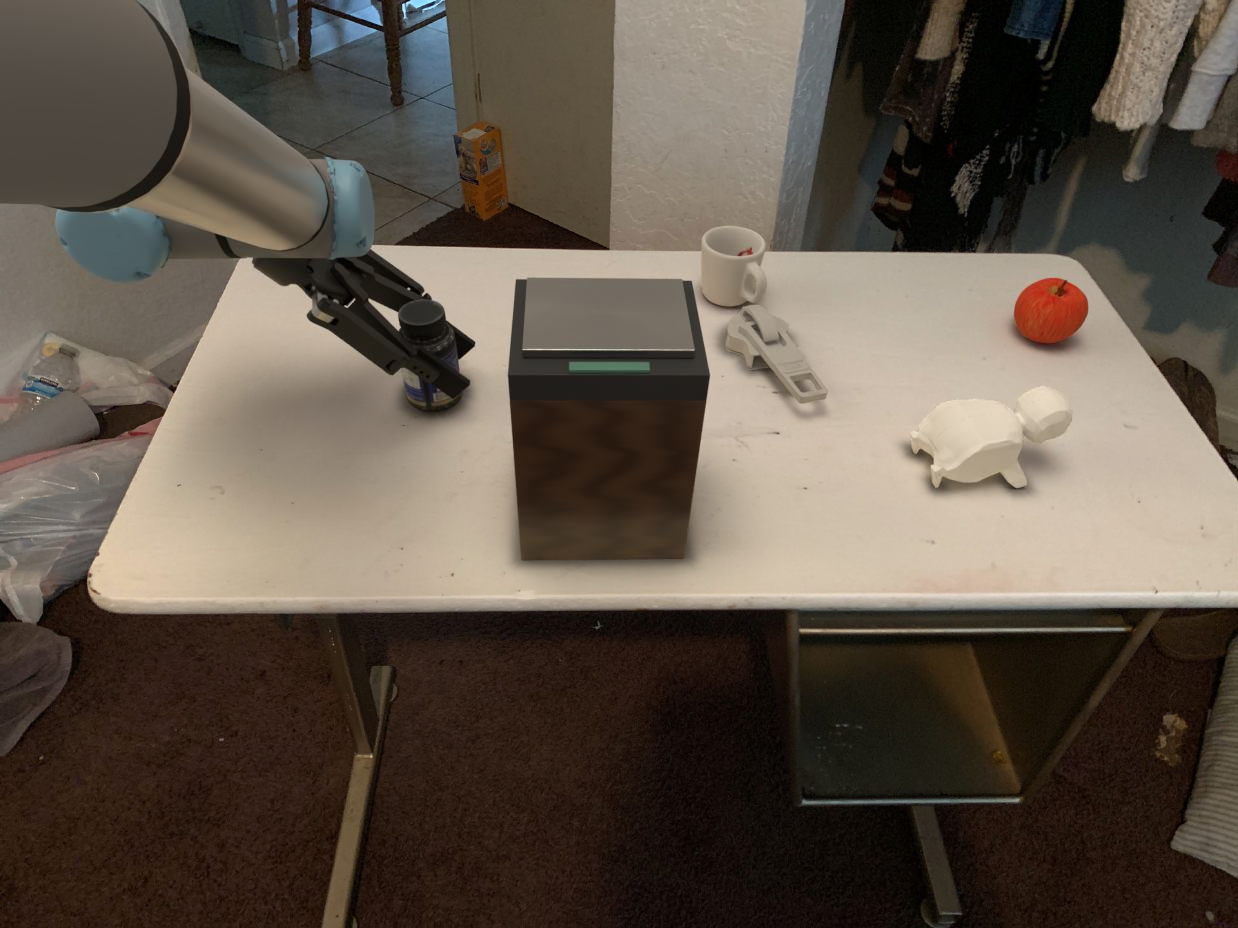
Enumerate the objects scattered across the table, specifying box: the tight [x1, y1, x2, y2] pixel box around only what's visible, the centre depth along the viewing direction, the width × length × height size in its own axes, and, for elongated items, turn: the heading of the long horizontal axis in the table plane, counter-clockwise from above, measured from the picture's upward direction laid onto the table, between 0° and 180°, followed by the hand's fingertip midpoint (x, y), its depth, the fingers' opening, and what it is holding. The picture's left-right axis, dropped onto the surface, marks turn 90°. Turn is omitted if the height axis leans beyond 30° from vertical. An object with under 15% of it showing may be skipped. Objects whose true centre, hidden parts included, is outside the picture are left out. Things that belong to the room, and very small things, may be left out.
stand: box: [509, 400, 707, 561], centre depth 75 cm, size 15×13×19 cm
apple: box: [1013, 277, 1089, 344], centre depth 102 cm, size 8×8×8 cm
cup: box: [700, 225, 768, 307], centre depth 105 cm, size 11×8×8 cm
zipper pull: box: [724, 303, 829, 404], centre depth 97 cm, size 8×18×4 cm, turn 18°
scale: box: [507, 277, 711, 402], centre depth 67 cm, size 15×13×3 cm
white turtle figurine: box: [909, 385, 1074, 489], centre depth 85 cm, size 9×8×15 cm
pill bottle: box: [397, 299, 463, 411], centre depth 88 cm, size 6×6×11 cm
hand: (464, 369), depth 90 cm, fingers closed on pill bottle, 6 cm apart
